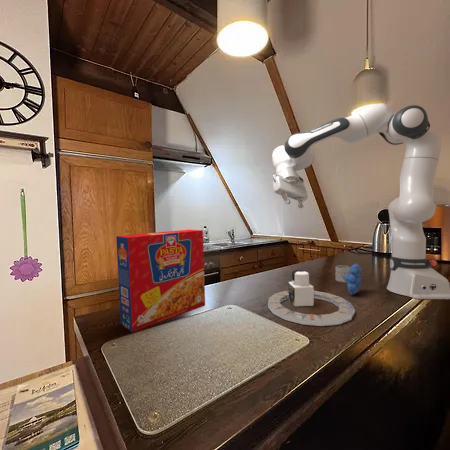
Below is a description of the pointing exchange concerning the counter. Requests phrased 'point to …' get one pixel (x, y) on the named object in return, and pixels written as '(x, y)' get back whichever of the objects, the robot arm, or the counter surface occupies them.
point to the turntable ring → (335, 318)
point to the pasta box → (159, 276)
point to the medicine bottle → (301, 289)
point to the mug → (341, 272)
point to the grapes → (353, 279)
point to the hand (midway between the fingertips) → (295, 205)
